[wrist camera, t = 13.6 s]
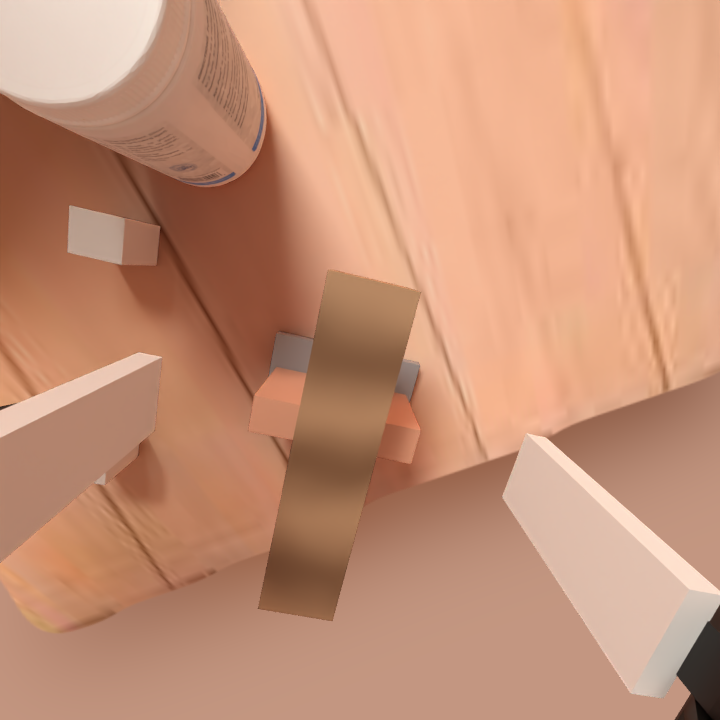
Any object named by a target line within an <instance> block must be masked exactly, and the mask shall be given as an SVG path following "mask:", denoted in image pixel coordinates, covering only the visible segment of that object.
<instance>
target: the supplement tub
mask: <svg viewBox="0 0 720 720" xmlns="http://www.w3.org/2000/svg"><path fill="white" fill-rule="evenodd" d="M0 93H1V94H3V95H5V96H7V97H8V98H9V99H11V100H12V101H14V102H15V103H17V104H18V105H20V106H21V107H23V108H24V109H26V110H28V111H30V112H32V113H34V114H36V115H38V116H40V117H43V118H45V119H47V120H49V121H51V122H53V123H55V124H57V125H60V126H61V127H63V128H66V129H68V130H70V131H72V132H74V133H76V134H78V135H81V136H83V137H85V138H87V139H89V140H91V141H94V142H96V143H98V144H100V145H102V146H104V147H107V148H109V149H111V150H113V151H115V152H118V153H120V154H122V155H124V156H126V157H128V158H130V159H133V160H135V161H137V162H139V163H141V164H143V165H146V166H148V167H150V168H152V169H154V170H157V171H159V172H161V173H163V174H165V175H167V176H170V177H172V178H174V179H176V180H178V181H181V182H183V183H186V184H189V185H193V186H198V187H214V186H220V185H223V184H227V183H229V182H231V181H233V180H235V179H237V178H238V177H240V176H241V175H242V174H244V173H245V172H246V171H247V170H248V169H249V168H250V166H251V165H252V164H253V162H254V161H255V160H256V158H257V156H258V154H259V152H260V149H261V147H262V144H263V140H264V136H265V131H266V121H267V116H266V105H265V100H264V95H263V92H262V89H261V86H260V83H259V81H258V78H257V76H256V75H255V72H254V70H253V68H252V67H251V65H250V63H249V61H248V59H247V57H246V55H245V53H244V51H243V49H242V48H241V46H240V44H239V42H238V40H237V38H236V36H235V34H234V33H233V31H232V29H231V27H230V25H229V23H228V21H227V19H226V17H225V15H224V13H223V12H222V10H221V8H220V6H219V4H218V2H217V0H0Z"/></svg>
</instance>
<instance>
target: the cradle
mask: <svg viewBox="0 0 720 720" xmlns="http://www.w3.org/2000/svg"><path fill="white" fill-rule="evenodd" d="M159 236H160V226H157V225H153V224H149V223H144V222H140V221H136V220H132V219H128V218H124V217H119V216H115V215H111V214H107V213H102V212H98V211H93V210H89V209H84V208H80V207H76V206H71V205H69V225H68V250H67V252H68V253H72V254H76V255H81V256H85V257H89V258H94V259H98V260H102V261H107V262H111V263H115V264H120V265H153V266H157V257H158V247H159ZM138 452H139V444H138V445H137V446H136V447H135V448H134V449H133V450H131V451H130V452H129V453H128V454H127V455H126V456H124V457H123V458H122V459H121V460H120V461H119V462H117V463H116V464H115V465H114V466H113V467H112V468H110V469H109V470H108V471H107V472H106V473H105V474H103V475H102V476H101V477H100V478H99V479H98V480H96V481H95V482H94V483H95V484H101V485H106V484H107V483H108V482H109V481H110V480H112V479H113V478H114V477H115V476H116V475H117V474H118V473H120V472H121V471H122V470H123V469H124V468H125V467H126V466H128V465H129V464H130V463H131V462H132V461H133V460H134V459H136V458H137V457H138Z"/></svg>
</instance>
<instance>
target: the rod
mask: <svg viewBox="0 0 720 720" xmlns="http://www.w3.org/2000/svg"><path fill="white" fill-rule="evenodd" d="M420 294H421V292H419V291H416V290H413V289H410V288H407V287H403V286H399V285H395V284H390V283H386V282H382V281H378V280H374V279H369V278H365V277H361V276H357V275H353V274H349V273H344V272H340V271H336V270H328V272H327V277H326V282H325V287H324V292H323V296H322V301H321V306H320V311H319V316H318V321H317V325H316V330H315V335H314V340H313V345H312V350H311V354H310V359H309V364H308V369H307V374H306V379H305V384H304V388H303V393H302V398H301V403H300V408H299V413H298V417H297V422H296V427H295V432H294V437H293V442H292V446H291V451H290V456H289V461H288V466H287V471H286V475H285V480H284V485H283V490H282V495H281V500H280V505H279V509H278V514H277V519H276V524H275V529H274V534H273V538H272V543H271V548H270V554H269V558H268V563H267V567H266V573H265V577H264V582H263V587H262V592H261V597H260V602H259V606H258V609H262V610H268V611H274V612H281V613H287V614H292V615H298V616H305V617H311V618H317V619H322V620H328V621H333V617H334V613H335V610H336V606H337V602H338V598H339V595H340V591H341V587H342V584H343V580H344V576H345V572H346V569H347V565H348V561H349V557H350V554H351V550H352V546H353V543H354V539H355V535H356V532H357V528H358V524H359V521H360V517H361V513H362V509H363V506H364V502H365V498H366V495H367V491H368V487H369V483H370V480H371V476H372V472H373V469H374V465H375V461H376V457H377V454H378V450H379V446H380V443H381V439H382V435H383V431H384V428H385V424H386V420H387V417H388V413H389V409H390V405H391V402H392V398H393V394H394V391H395V387H396V383H397V379H398V376H399V372H400V368H401V365H402V361H403V357H404V353H405V350H406V346H407V342H408V339H409V335H410V331H411V327H412V324H413V320H414V316H415V313H416V309H417V305H418V301H419V298H420Z"/></svg>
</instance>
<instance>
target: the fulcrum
mask: <svg viewBox="0 0 720 720" xmlns="http://www.w3.org/2000/svg"><path fill="white" fill-rule="evenodd" d="M313 340H314V339H312V338H307V337H303V336H298V335H294V334H289V333H285V332H280V331H278V332H277V333H276V337H275V343H274V348H273V354H272V360H271V365H270V371H269V376H268V378H267V380H266V381H265V382H264V383H263V385H262V386H261V387H260V389H259V390H258V391H257V393H256V394H255V395H254V399H253V405H252V411H251V416H250V422H249V428H248V431H250V432H255V433H260V434H265V435H270V436H275V437H280V438H285V439H289V440H293V437H294V432H295V427H296V422H297V417H298V413H299V408H300V403H301V398H302V393H303V388H304V384H305V379H306V374H307V369H308V364H309V359H310V354H311V350H312V345H313ZM419 368H420V364H419V363H418V362H414V361H410V360H405V359H403V361H402V365H401V368H400V372H399V376H398V379H397V383H396V387H395V391H394V394H393V398H392V402H391V405H390V409H389V413H388V417H387V420H386V424H385V428H384V431H383V435H382V439H381V443H380V446H379V450H378V454H377V457H379V458H384V459H388V460H393V461H398V462H403V463H408V464H411V463H412V459H413V456H414V453H415V449H416V446H417V442H418V439H419V436H420V432H421V429H420V427H419V425H418V422H417V420H416V418H415V415H414V413H413V411H412V408H411V406H410V404H409V403H410V400H411V396H412V392H413V389H414V385H415V382H416V378H417V375H418V371H419Z"/></svg>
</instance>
